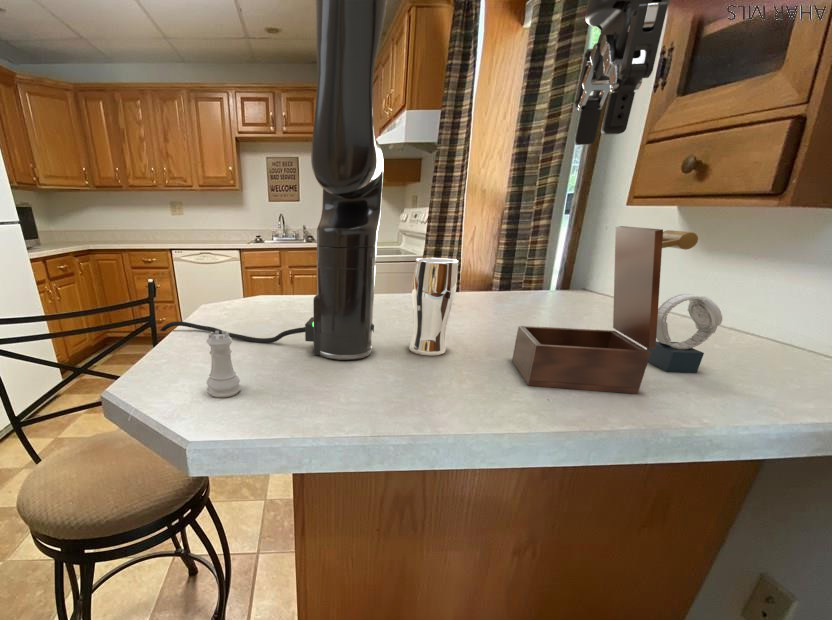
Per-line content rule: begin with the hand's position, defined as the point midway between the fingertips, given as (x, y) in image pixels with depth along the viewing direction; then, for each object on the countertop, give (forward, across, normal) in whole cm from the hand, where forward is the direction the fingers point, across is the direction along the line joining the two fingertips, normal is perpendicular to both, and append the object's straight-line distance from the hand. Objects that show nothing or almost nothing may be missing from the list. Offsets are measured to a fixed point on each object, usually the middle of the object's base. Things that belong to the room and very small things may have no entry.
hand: (596, 139), depth 49 cm
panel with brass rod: (+17, -2, +9) cm, 19 cm away
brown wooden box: (+30, -2, +4) cm, 30 cm away
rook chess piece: (+30, +14, -43) cm, 54 cm away
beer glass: (+30, -10, -16) cm, 36 cm away
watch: (+30, -10, +21) cm, 38 cm away
